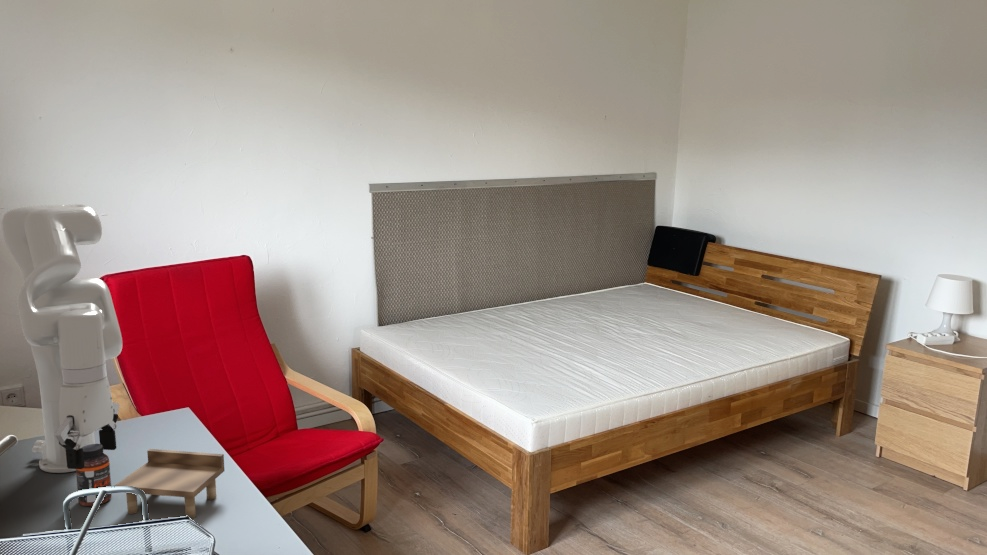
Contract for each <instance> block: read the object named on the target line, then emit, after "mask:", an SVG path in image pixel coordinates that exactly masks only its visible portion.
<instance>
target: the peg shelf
mask: <svg viewBox="0 0 987 555" xmlns="http://www.w3.org/2000/svg"><path fill="white" fill-rule="evenodd" d="M146 452H147V462H146V463H144V464H143V465H141V466H140V467H139V468H138V469H136V470H135V471H132V472H131V473H130V474H129V475H128V476H126V477H124V478H123V479H121V481H119V482H118V483H116V484H115V485H114V487H115V486H133V487H137V488H139V489H141V490H143V491H144V492H145V494H144V495H152V496H165V497H178V498H184V509H185V510H184V512H185V516H186V515H188V516H189V517H190V518H192V519H195V518H196V516H197V515H196V514H197V513H196V497H197V496H198V495H199V494H200V493H201V492H202V491H203V490H205V488H206V491H205V492H206V499H207V500H209V501H210V500H211V501H212V500H215V499H216V498H217V485H216V481H217V480H216V479H217V478H218V477H220V475H222V474H223V473H224V472H225V456H224V455H225V454H223V453H210V452H196V451H182V450H170V449H155V448H149V449H148V450H147V451H146ZM125 495H126V509H127V514H128V515H133V514H137V513H138V512H139V508H138V507H139V506H138V505H139V504H138V494H137V495H135V494H132V493H126V492H125ZM192 519H191V520H192Z"/></svg>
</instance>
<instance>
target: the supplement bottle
mask: <svg viewBox="0 0 987 555" xmlns="http://www.w3.org/2000/svg"><path fill="white" fill-rule="evenodd" d="M81 448H83V456H84V468H83V469H76V471H75V475H76V487H77V488H76V489H77V491H78V490H82V489H89V488H98V487H106V486H111V487H112V480H111V469H110V468H111V466H110V457H109V455H108V454H106V453H104V450H103V446H102V445H101V444H100V443H95V444H89V445H85V446H83V447H81ZM112 495H113V494H112V493H111V494H106V495H105V497H104V500H103V501H102V503H101V505H102V504H105V503H107V502H109V501H110V500H111V499H112ZM97 496H98V495H91V496H84V497H79V498H78V497H77V500H78V503H79V505H81V506H83V507H93V506H92V505H93V503H94V502H95V500H96V498H97Z"/></svg>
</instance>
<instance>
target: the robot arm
mask: <svg viewBox="0 0 987 555" xmlns="http://www.w3.org/2000/svg"><path fill="white" fill-rule="evenodd" d="M1 219H2V220H1V230H2V235H3V239H4V242H5V244H6V247H7V249H8V251H9V253H10V255H11V257H12V258H13V260H14V262H15V263H16V264H17V266H18V267H19V269H20V271H21V273H22V275H23V283H22V285H21V286H20V288H19V291H18V294H17V300H16V302H17V303H16V305H17V313H18V317H19V321H20V327H21V331H22V334H23V337H24V339H25V341H26V342H27V343H28V344H29V345H30V349H31V353H32V354H31V355H32V357H33V360H34V363H35V368H36V372H37V379H38V383H39V384H38V385H39V391H40V392H39V394H40V401H41V413H42V424H43V433H44V439H43V440H40V439H37V440H36V441H35V442H34V443H33V444H34V445H33V447H32V448H31V452H32V453H38V454H39V453H41V456H42V457H41V458H40V459H39V461H38V465H39V469H40V470H42V471H43V472H46V473H52V474H54V473H55V474H56V473H57V474H62V473H63V474H64V473H70V472H71V473H72V472H76V469H83V468H84V456H83V448H81V447H83V446H85V445H89V444H96V443H95V439H96V438H95V432H96V431H98V436H99V437H98V438H99V444H101V445H102V446H103V451H104V450H106V451H115V450H116V449H117V439H116V438H117V437H116V429H117V426H118V425H117V422H118V419H119V418H118V417H119V415H118V414H119V410H120V404H119V403H117V402H114V401H113V398H112V397H113V396H112V392H111V386H110V382H109V379H108V375H107V363H106V361H107V360H112V359H114V358H117V357H118V356H119V355H121V352H122V351H123V350H122V349H123V337H122V332H121V328H120V324H119V320H118V317H117V314H116V310H115V307H114V303H113V299H112V295H111V292H110V289H109V287H108V285H107V283H106V282H105V281H104V280H102V278H101V279H100V278H98V277H82V278H81V277H80V278H75V277H77V275H79V273H80V272H81V268H82V267H81V266H82V265H81V260H80V257H79V253H78V250H77V247H76V246H86V245H95V244H98V243H99V242H100V240H101V238H102V234H103V233H102V231H103V230H102V229H103V227H102V223H101V222H102V221H101V220H100V217H99V215H98V214H97V212H96V210H94V208H92V207H90V206H88V205H86V204H77V203H75V204H53V205H50V204H49V205H32V206H31V205H29V206H28V205H27V206H19V207H16V208H13V209H11V210H10V209H9V210H8V211H7V212H6V213H4V214H3V216H2V218H1Z"/></svg>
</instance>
